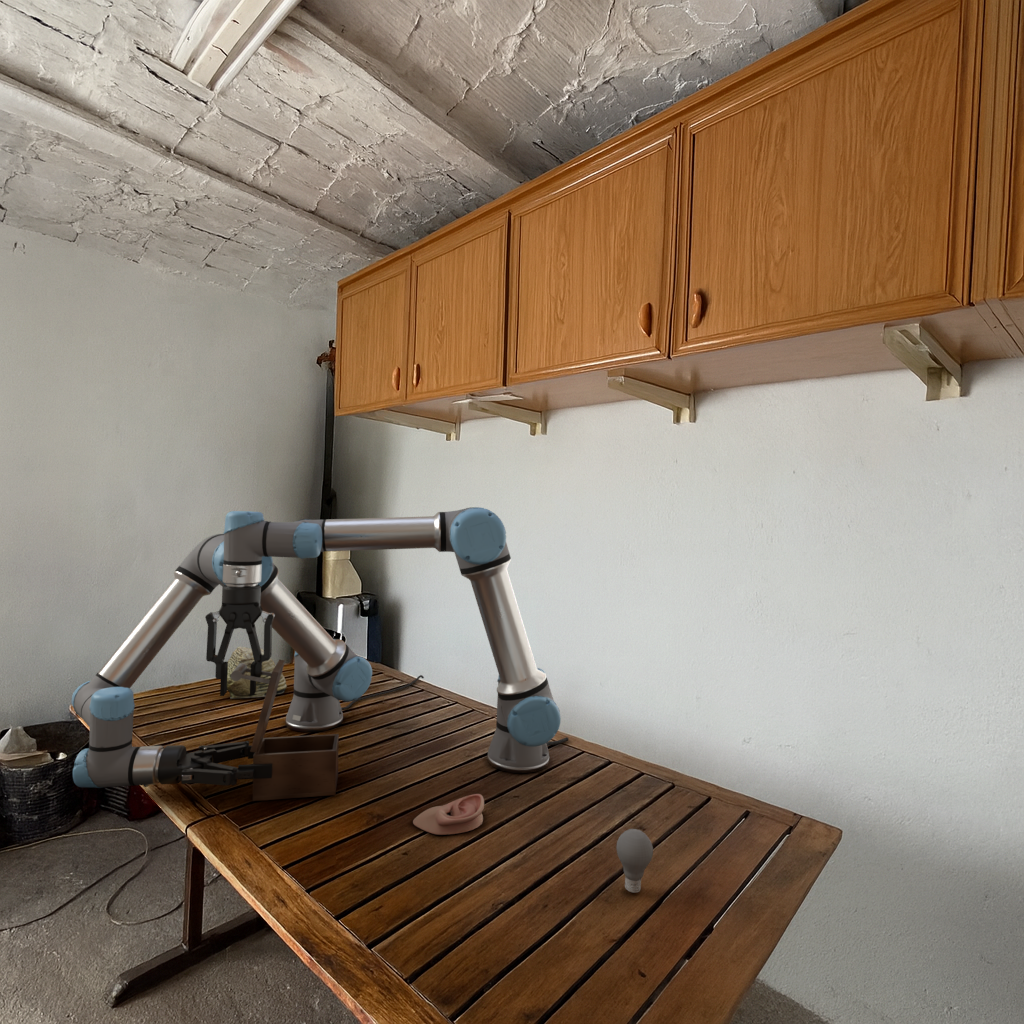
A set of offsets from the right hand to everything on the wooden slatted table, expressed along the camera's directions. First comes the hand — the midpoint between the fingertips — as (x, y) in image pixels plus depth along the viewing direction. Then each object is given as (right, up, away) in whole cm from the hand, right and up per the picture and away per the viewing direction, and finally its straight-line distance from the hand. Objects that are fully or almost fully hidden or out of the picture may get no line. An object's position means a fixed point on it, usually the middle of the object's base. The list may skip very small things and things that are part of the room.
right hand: (238, 693), depth 134 cm
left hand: (+7, -15, +2) cm, 17 cm away
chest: (+11, -21, +3) cm, 24 cm away
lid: (+6, -3, +2) cm, 7 cm away
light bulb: (+78, -25, -28) cm, 87 cm away
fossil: (-23, -19, +64) cm, 70 cm away
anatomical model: (+45, -23, -8) cm, 52 cm away
